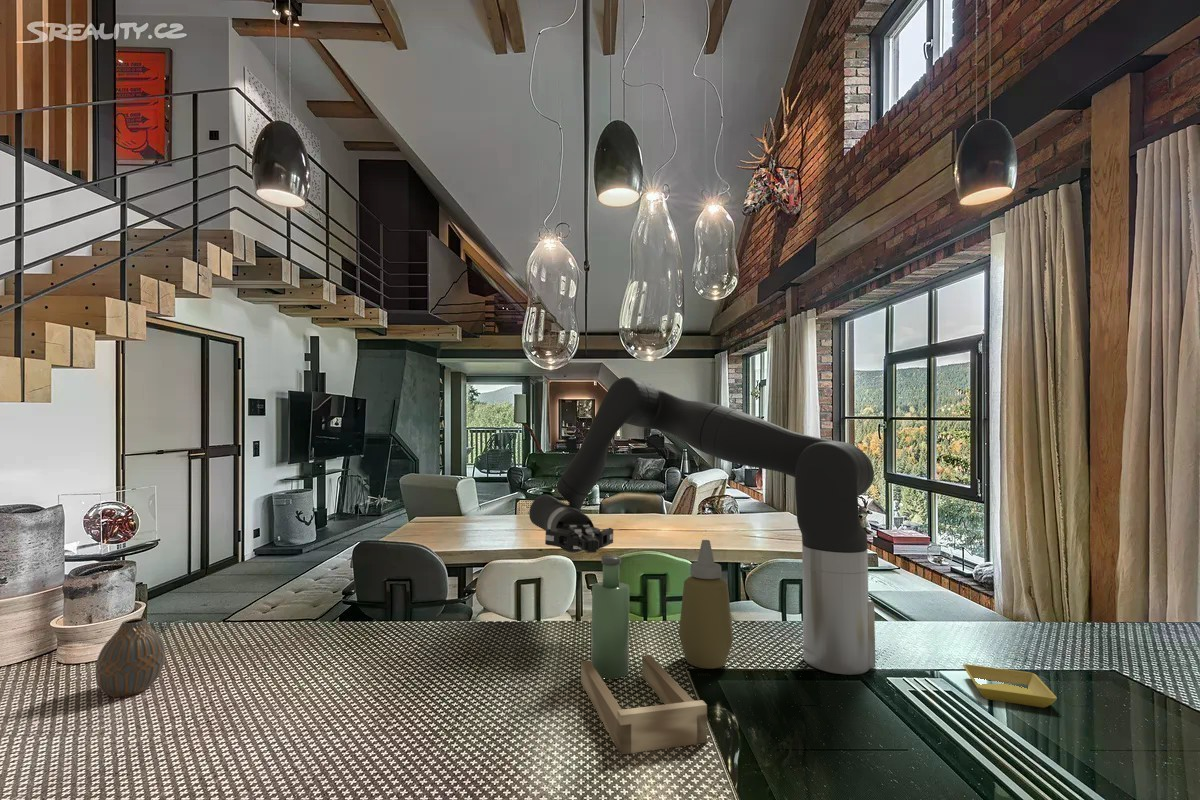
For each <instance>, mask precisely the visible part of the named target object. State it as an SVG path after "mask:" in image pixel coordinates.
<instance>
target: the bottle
mask: <svg viewBox="0 0 1200 800" xmlns="http://www.w3.org/2000/svg"><path fill="white" fill-rule="evenodd" d="M601 564H602V581H600V582H596V583H594V584H592V586H591V636H590V637H591V638H590V639H591V645H590V646H591V647H590V649H591V651H590V655H591V656H590V662H591V663H592V665H593V666H594V668H595V669H596V671H597V672H598V674H599V675H600V677H601V678H605V679H615V678H621V677H624V676H626V675H627V674H628V673H629V671H630V593H631V591H630V590H631V589H630V584H627V583H626V582H625V583H624V582H621V581H620V565H621V564H622V557H621V556H618V555H609V554H608V555H603V556H601ZM629 674H630V673H629ZM629 674H628V675H629ZM628 675H627V676H628ZM627 676H626V677H627ZM624 678H625V677H624ZM605 679H604V680H605ZM621 679H622V678H621Z"/></svg>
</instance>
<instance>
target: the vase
mask: <svg viewBox="0 0 1200 800" xmlns="http://www.w3.org/2000/svg"><path fill="white" fill-rule="evenodd" d="M165 650H166V649H165V645H164V642H163V639H162V637H161V636H160V635H159V634H158V633H157V632H156V631H155V630H154V629H153V627H151V626H150V625H149V623H148V621H147V619H146V618H144V617H135V618H130V619H127V620H124V621H123V622H121V624H120V626H119V628H118V629H117V631H116V632H115V633H114V634H113V635H112V636H111V637H110V638H109V639H108V641H106V642H105V644H104V646H103V647H102V648H101V650H100V652H99V654H98V657H97V659H96V664H95V680H96V683H97V685H98V686H97V687H99V689H100V690H101V691H102V692H103V693H104V694H105V695H108V696H109V697H112V698H123V697H129V696H133V695H136V694H139V693H142V692H144V691H146V690H147V689H148V688H150V687H151V686H152V685H153V684H154V683H155V681H157V679H158V678H159V676H160V674H161V672H162V670H163V667H164V664H165V659H166V657H165V656H166V651H165Z"/></svg>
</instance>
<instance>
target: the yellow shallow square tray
mask: <svg viewBox="0 0 1200 800" xmlns="http://www.w3.org/2000/svg"><path fill="white" fill-rule="evenodd" d="M962 666H963V668H964V669H965V671H966V673H967V675H968V676H969V677H970V678H969V679H971V681H972V683H973V684H974V687H976V688H977V690H978V692H979V693H980V695H981V696H982V697H983V698H984V699H986V700H990V701H998V702H1002V703H1003V702H1004V703H1011V704H1017V705H1024V706H1030V707H1036V708H1043V709H1044V708H1047V707H1050V706H1051V705H1052V704H1053V703H1054V702H1056V701H1057V699H1058V697H1057V696H1056V695H1055V694H1054V693H1053V691H1052V690H1050V688H1049V687H1048V686H1047V685H1046V684H1045V683H1044V681H1042V679H1041V678H1040V677H1039V676H1038V675H1037V674H1035V673H1033V672H1029V671H1022V670H1015V669H1008V668H1007V669H1005V668H998V667H990V666H982V665H975V664H968V663H967V664H963V665H962ZM974 678H978V679H979V678H980V679H984V680H985V679H986V680H991V681H997V682H998V681H999V682H1002V683H1003V682H1004V683H1005V684H1002V683H1001V684H998V683H997V684H989V683H988V684H982V685H980V684H978V683H977V682H976V681H975V679H974ZM1006 683H1010V685H1008V684H1006ZM1011 683H1014V684H1022V685H1023V684H1024V685H1028V689H1027V688H1024V687H1022V686H1021V687H1022V688H1021V687H1019V686H1016V685H1015V686H1014V685H1012V684H1011Z"/></svg>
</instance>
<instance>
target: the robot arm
mask: <svg viewBox="0 0 1200 800" xmlns="http://www.w3.org/2000/svg"><path fill="white" fill-rule="evenodd" d="M625 424H628V425H631V426H634V427H635V426H636V427H640V428H647V429H653V430H657V431H661V432H663V433H668V434H670V435H671V434H672V435H674V436H676V437H677V438H679V439H681V440H682V441H683V442H685V443H686V444H687V445H689V446H690V447H691V448H694V449H696V450H698V451H700V452H702V453H705V454H706V455H709V456H712V457H714V458H717V459H720V460H722V461H727V462H729V463H733V464H738V465H742V466H745V467H752V468H757V469H764V470H767V471H768V470H770V471H774V472H779V473H781V474H785V475H787V476H790V477H793V478H794V486H795V492H794V493H795V508H796V511H795V512H796V521H797V525H798V528H799V530H800V534H801V543H802V544H801V547H802V548H801V549H802V554H801V555H802V556H801V557H802V562H801V563H802V650H803V653H802V654H803V657H802V659H803V660H804V662H805V663H806V664H808V665H809V666H811V667H813V668H815V669H818V670H820V671H823V672H826V673H831V674H838V675H849V676H851V675H861V674H864V673H868V672H869V670H870V669H871V668H876V630H875V629H876V628H875V627H876V626H875V625H876V624H875V615H876V614H875V602H874V601H873V600H871V599H869V569H868V568H869V567H868V566H869V565H868V564H869V562H868V561H869V560H868V559H869V558H868V556H869V555H868V534H867V531H866V530H865V529H864V528H863V525H862V524H861V520H860V516H859V515H860V513H859V497H860V496H861V495H863V494H864V493H866V491H868V490H869V488H870V487H872V486H871V485H872V484H873V482H874V479H875V477H874V476H875V470H874V466H873V463H872V461H871V459H870V458H869V457H868V455H867V454H866V453H865V452H864V451H863V450H862V449H861V448H859V447H858V446H856V445H854V444H851V443H849V442H845V441H839V440H838V441H837V440H832V439H827V438H822V437H821V438H820V437H818V436H817V437H816V436H812V435H809V434H808V435H807V434H803V433H799V432H796V431H793V430H790V429H786V428H785V427H783V426H780V425H778V424H774V423H772V422H770V421H768V420H765V419H762V418H760V417H757V416H755V415H751V414H749V413H745V412H743V411H741V410H737V409H734V408H730V407H728V406H723V405H721V404H716V403H712V402H706V401H696V400H695V401H694V400H687V399H683V398H681V397H678V396H676V395H673V394H671V393H669V392H666V391H664V390H662V389H661V388H658V387H656V386H654V385H652V384H651V383H648V382H645V381H643V380H639V379H636V378H633V377H629V376H623V377H621V378H618V379H616V380H615V381H613V383H612V384H611V385H610V387H609V388H608V390H607V392H606V393H605V395H604V397H603V399H602V401H601V403H600V405H599V408H598V409H597V412H596V414H595V416H594V418H593V421H592V422H591V424H590V426H589V428H588V431H587V433H586V435H585V437H584V439H583V442H582V444H581V445H580V447H579V449H578V450H577V452H576V454H575V456H574V457H573V459H572V460H571V461H570V462H569V464H568V466H567V467H566V469H565V470H564V471H563V473H562V475H561V476H560V478H559V479H558V481H557V483H556V490H557V491H558V493H559V494H560V495H561V497H563V499H565V501H567V502H568V504H567V503H566V502H563V501H561V500H560V499H558V498H556V497H554V496H552V495H551V494H547V493H546V494H541V495H538V496H537V497H536V498H535V499H534V500H533V502H532V503H531V504H530V507H529V512H528V515H529V520H530V522H531V523H532V524H533V525H535V526H537V527H538V528H540V529H542V531H543V530H544V531H545V541H544V542H545V545H547V546H552V547H558V548H560V549H561V550H562V551H565V552H568V553H579V552H582V551H584V552H586V553H587V554H590V553H591V554H594V553H597V551H599V549H602V548H605V547H608V546H609V545H612V544H614V528H612V527H608V528H603V529H602V530H601V529H600V528H599V527H595V525H594V524H593V521H592V519H591V518H590V517H589V516H588V515H586V514H585V513H584V512H582V511H581V510H582V507H583V505H584V503H585V501H586V499H587V498H588V495H589V494H590V492H591V491H592V490H593V488H594V487H595V486H596V484H597V483H598V481H600V478H601V477H602V474H603V472H604V471H605V470H604V469H605V466H606V462H607V456H608V451H609V447H610V444H611V441H612V440H613V438H614V437H615V435H616V433H617V432H618V431H619V430H620V429H621V428H622V427H623V426H624V425H625Z"/></svg>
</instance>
